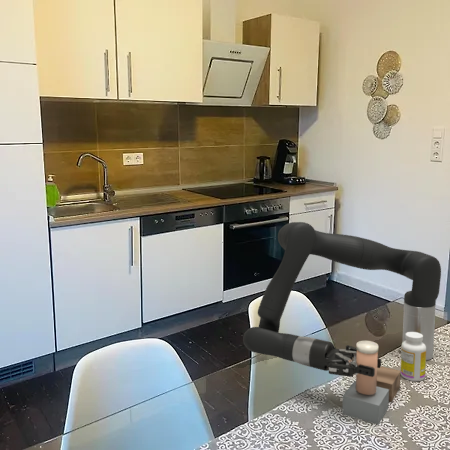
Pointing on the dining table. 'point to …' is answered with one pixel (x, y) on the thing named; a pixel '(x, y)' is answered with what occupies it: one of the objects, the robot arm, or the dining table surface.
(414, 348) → the supplement bottle
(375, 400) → the stand
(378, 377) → the stand
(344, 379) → the dining table surface
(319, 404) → the dining table surface
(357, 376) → the canister
